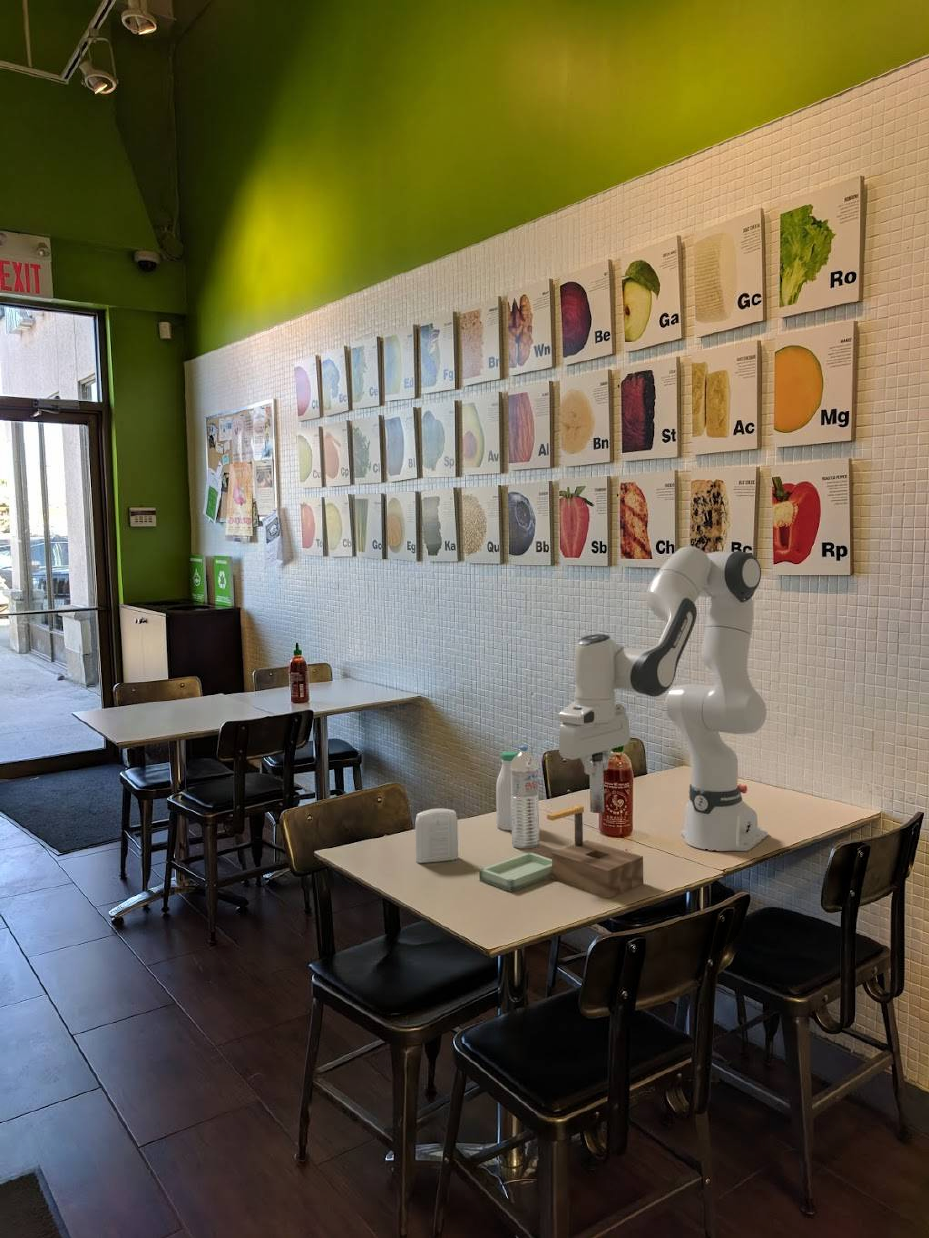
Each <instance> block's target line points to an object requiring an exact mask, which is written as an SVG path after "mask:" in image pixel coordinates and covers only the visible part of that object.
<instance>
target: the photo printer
mask: <svg viewBox="0 0 929 1238" xmlns="http://www.w3.org/2000/svg"><path fill="white" fill-rule="evenodd" d="M458 822H459V821H458V816H457V813H456V811H455V810H453V809H448V808H431V809H426V810H423V811H420V812H419V813H417V814H416V817H415V824H414V825H415V826H414V827H415V861H416V862H417V863H419V864H423V863H425V864H426V863H435V862H443V861H447V862H448V861H455V859H456V860H458V858H459V841H458V840H459V837H458V835H459V834H458V833H459V832H458V829H459V827H458V824H459V823H458Z"/></svg>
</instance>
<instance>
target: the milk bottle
mask: <svg viewBox="0 0 929 1238" xmlns="http://www.w3.org/2000/svg"><path fill="white" fill-rule="evenodd" d="M518 753H519V752H517V751H512V750H507V751H503V752H501V753H500V757H501V763H502V765H501V768H500V771H499V774H498V776H497V779H496V787H495V790H496V792H495V794H496V795H495V796H496V797H495V798H496V800H495V801H496V826H497V828H498V829H500V830H502V831H510V832H512V825H511V824H512V822H511V820H512V819H511V769H510V763H511V761H512V760H513V758H514V757H515V756H516V755H517V754H518Z"/></svg>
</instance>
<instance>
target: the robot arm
mask: <svg viewBox="0 0 929 1238" xmlns="http://www.w3.org/2000/svg"><path fill="white" fill-rule="evenodd" d="M761 579H762V569H761V565H760V562H759V561H758V559H757V557H756V556H755V555H754V554H753V553H750V552H745V551H742V550H741V551H740V550H735V551H723V550H722V551H713V552H705V551H704V550H702V549H700V548H698V547H696V546H691V545H690V546H688V545H687V546H683V547H681V548H678V549H677V550H676V551H675V552H673V554H672V555H671V556H670V557H669V558H668V559H667V560H666V561H665V562H664V563H663V564H662V566H661V567H660V568H659V569H658V571H657V572H656V574H655V575H654V576H653V578H652V579H651V581H650V582H649V584H648V587H647V589H646V592H645V593H646V601H647V602H646V603H647V605H648V607H649V609H650V610H651V611H652V612H653V614H654V615H655V617H657V618H658V619H660V620H661V621H664V622H665V623H666V624H665V627H664V629H663V631H662V633H661V636H660V638H659V639H658V642H657V643H656V644H655V646H652V647H649V648H635V647H629V646H624V645H621V644H619V643H616V642H615V641H614V640H612V637H611V636H609V635H608V634H605V633H604V634H603V633H598V634H597V633H596V634H589V635H586V636H583V637H581V638H580V639H578V640H577V642H576V645H575V648H574V655H573V678H574V681H575V691H574V695H573V696H574V697H573V698H574V701H572V702H571V703H570V704H569V705H568V706H567V707H565V708H564V709H561V711H560V712H558V721H559V722H561V724H560V726H559V728H558V752H559V755H560V756H561V758H563V759H566V760H570V761H572V760H577V759H580V761H581V762H582V765H583V766H584V767H583V768H584V773H585V774H586V775H589V776H590V775H591V774H593V773H595V766H593V765H592V763H591V761H590V759H592V754H595V753H599V752H602V753H603V772H604V771H607V770H608V769H609V761H610V759H611V755H612V750H613V749H615V748H620V747H623V746H627V745H628V744H629V743H630V739H631V732H630V724H629V723H630V722H629V718H628V716H627V709H626V708H625V706H623V705H622V704H621V703H618V704H616V692H615V690H620V691H625V692H631V693H637V694H641V695H646V696H649V697H653V698H656V697H660V696H661V695H663V694H664V693H666V692H667V691H668V690H669V689H670V688H671V686H672V685H673V682H674V680H675V677H676V672H677V667H678V664H679V662H680V659H681V657H682V654H683V652H684V650H685V647H686V646H687V643H688V642H689V639H690V636H691V634H692V632H693V629H694V626H695V623H696V620H697V617H698V616H697V615H698V611H697V606H696V604H695V602H696V601H697V599H698V598H699V597H702V598H710V602H711V606H710V609H709V612H708V615H707V619H706V625H705V628H704V635H703V639H702V645H701V650H700V657H701V661H702V662H703V664H704V666H706V667H707V668H708V669H709V670H711V671H712V672H713V673H714V677H715V683H714V685H710V684H709V685H708V684H701V683H685V684H678V685H675V686H673V687H672V688H671V689H670V690H669V691H668V693H667V695H666V698H665V700H664V701H665V702H664V707H665V713H666V715H667V716H668V718H669V721H671V722H672V723H673V724H674V725H675V726H676V727H677V728H678V729H679V731H680V733H681V734H682V736H683V738H684V740H685V743H686V746H687V749H688V752H689V758H690V760H689V761H690V772H691V773H690V776H691V782H690V784H689V790H688V794H689V796H688V797H689V800H690V801H689V802H688V803H687V804H686V809H685V810H686V811H685V822H684V828H683V829H682V830H681V832H680V835H681V834H682V835H683V836H682V835H681V836H682V837H684V842H685V843H686V844H687V845H689V846H691V847H694V848H696V849H697V848H698V849H700V850H705V849H708V850H707V851H713V850H716V852H727V851H729V852H730V851H737V852H748V850H749V851H750V850H751V849H753V848H754V847H755V846H756V845H758V844H759V843H760V842H762V841H763V840H764V839H766V837H768V834H769V833H768V831H767V830H766V829H764V828H762V827H759V823H758V815H757V812H756V811H755V810H754V809H753V808H751V806H749V805H748V803H746V802H744V801H743V797H742V794H747V791H748V790H749V789H748V788H749V787H748V786H747V785H746V784H741V783H739V781H738V779H739V773H738V772H739V771H738V769H739V766H738V765H739V762H738V761H739V760H738V756H737V753H735V751H734V750H733V749H732V748H731V747H730V746H728V745H727V744H726V743H725V742H724V740H723V739H722V737H721V736H720V733H725V734H732V735H747V734H755V733H757V732H758V731H759V730H760V729H761V728H762V727H763V726H764V724H765V721H766V718H767V706H766V703H765V700H764V699H763V697H762V696H761V695H760V693H758V692H757V691H756V689H755V688H754V686H753V684H752V681H751V679H750V675H749V671H748V661H749V660H748V659H749V652H750V651H749V650H750V643H751V638H752V631H753V624H754V600H753V598H752V597H753V596H754V594H755V592H756V591H757V589H758V587H759V584H760V582H761ZM719 732H720V733H719ZM738 783H739V784H738ZM762 839H763V840H762ZM757 843H758V844H757Z"/></svg>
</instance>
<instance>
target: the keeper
mask: <svg viewBox="0 0 929 1238" xmlns="http://www.w3.org/2000/svg"><path fill="white" fill-rule="evenodd" d="M584 812H585V807H584V806H581V805H574V806H573V807H570V808H566V809H562V810H559V811H555V812H551V813H548V814H546V819H547V820H548V821H556V820H559V819H563V818H567V817H570V816H575V814H577V813H582V814H583V813H584Z"/></svg>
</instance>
